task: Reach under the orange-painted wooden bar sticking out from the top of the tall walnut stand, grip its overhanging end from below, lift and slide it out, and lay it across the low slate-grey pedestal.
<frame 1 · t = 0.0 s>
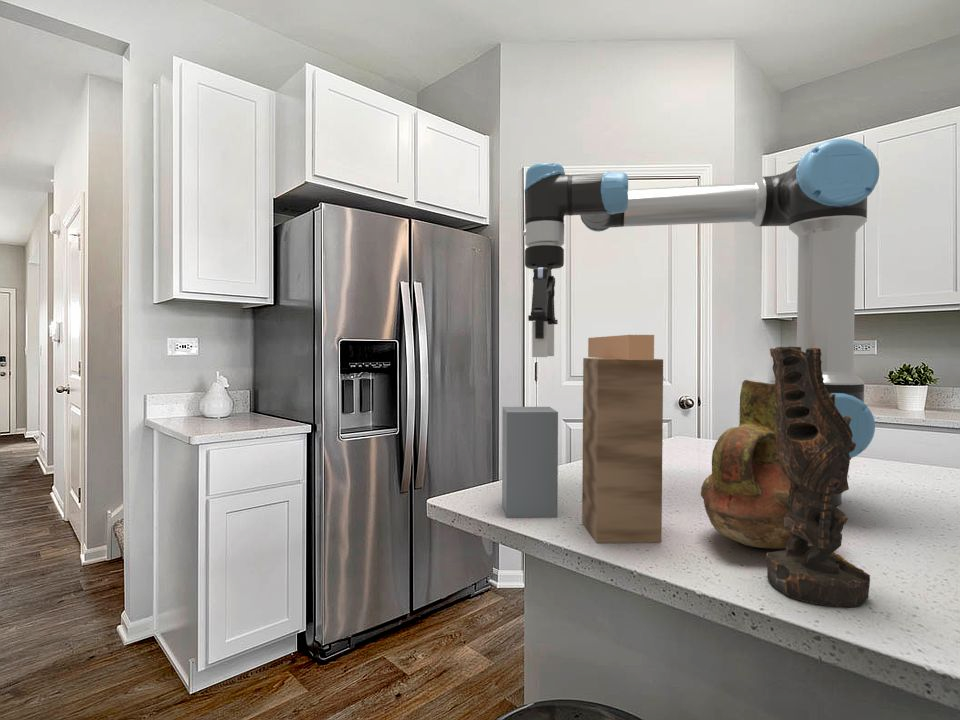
hand: (543, 356, 111), 28 cm above the countertop, tool pointing down, fingers open, 13 cm apart
statue: (814, 590, 70), on the countertop
slate pedestal: (528, 510, 104), on the countertop
ceramic vessel: (765, 543, 87), on the countertop
walnut stand: (619, 532, 92), on the countertop
bar: (616, 358, 94), point 28 cm above the countertop, touching walnut stand
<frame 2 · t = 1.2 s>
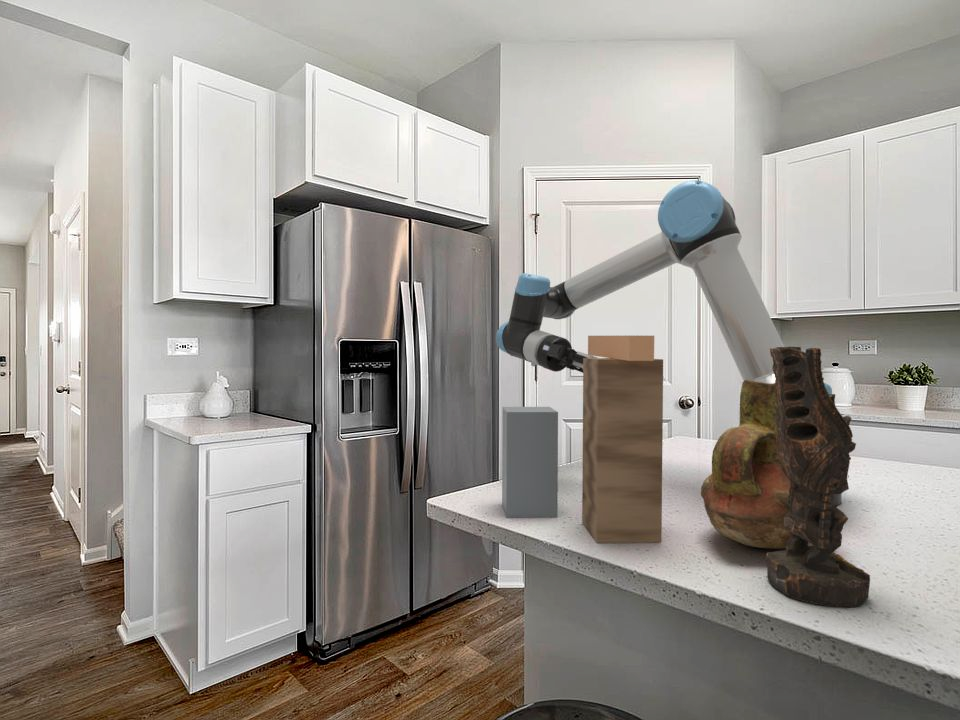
hand: (622, 376, 108), 24 cm above the countertop, tool horizontal, fingers open, 13 cm apart
bar: (616, 357, 94), point 28 cm above the countertop, touching gripper, walnut stand
everything else where it was.
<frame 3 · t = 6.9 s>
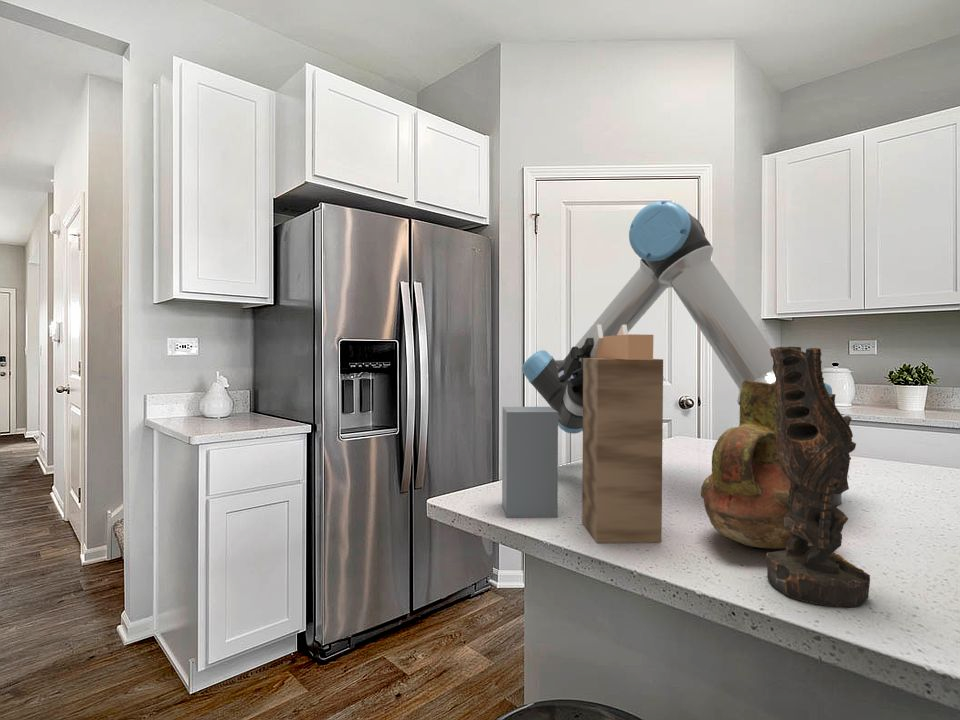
hand: (612, 331, 96), 33 cm above the countertop, tool pointing upward, fingers closed on bar, 4 cm apart
bar: (616, 358, 94), point 28 cm above the countertop, touching gripper, walnut stand
everything else where it was.
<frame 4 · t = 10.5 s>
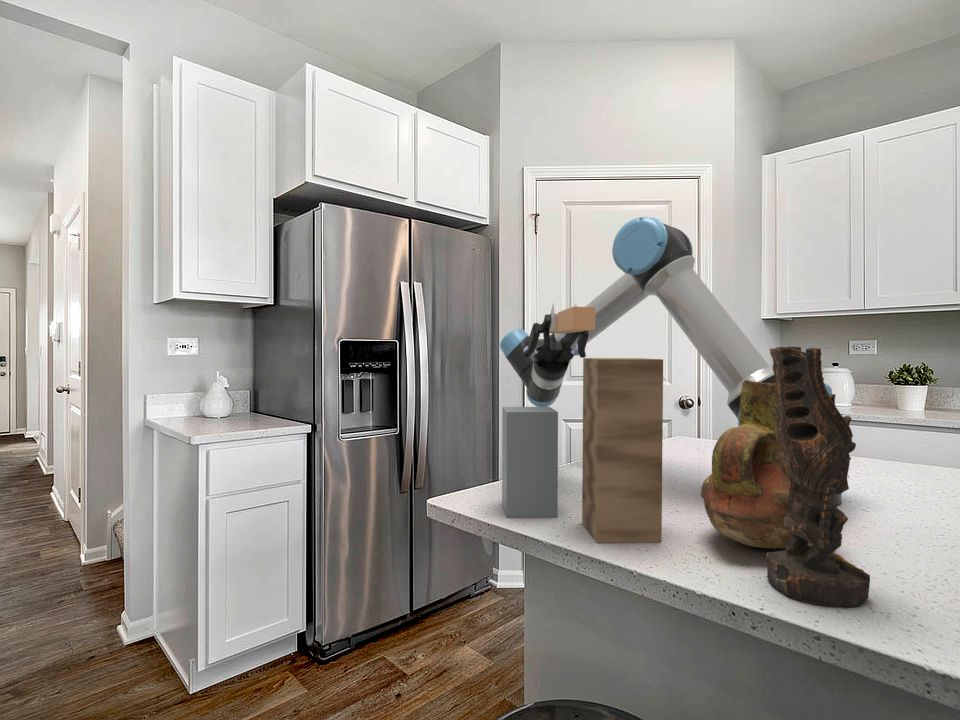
hand: (567, 308, 107), 37 cm above the countertop, tool pointing upward, fingers closed on bar, 4 cm apart
bar: (569, 331, 104), point 33 cm above the countertop, touching gripper
everything else where it was.
when the fingers open (25 cm above the countertop, at t = 14.2 s): bar drops 2 cm, resting on slate pedestal.
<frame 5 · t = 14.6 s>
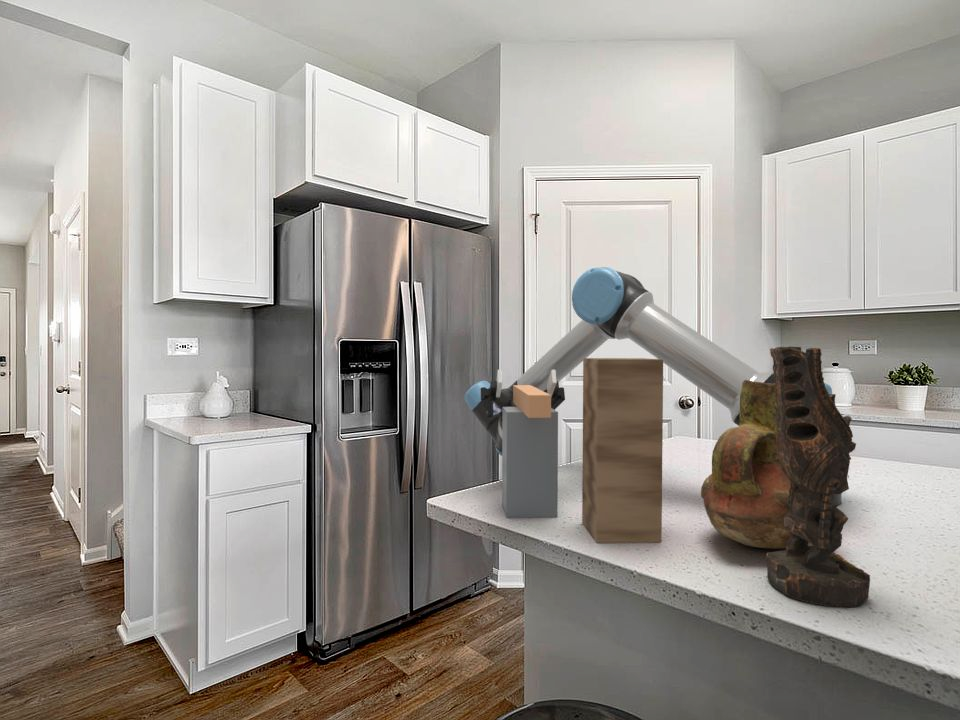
hand: (527, 376, 107), 24 cm above the countertop, tool pointing upward, fingers open, 9 cm apart
bar: (529, 409, 104), point 18 cm above the countertop, touching slate pedestal
everything else where it was.
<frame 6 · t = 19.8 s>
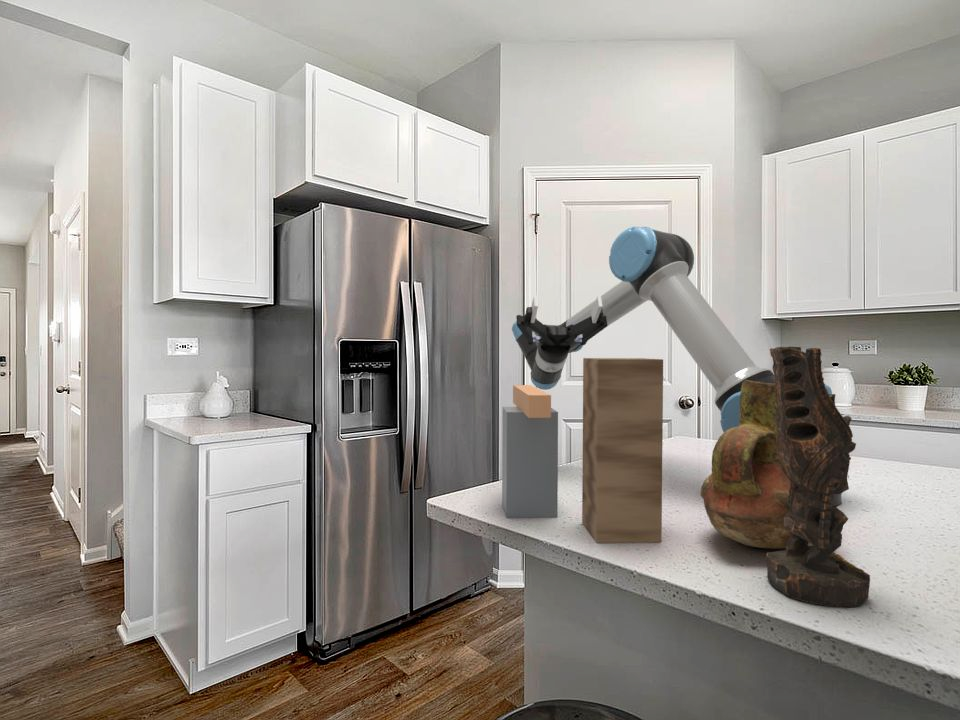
hand: (568, 300, 120), 40 cm above the countertop, tool pointing upward, fingers open, 13 cm apart
nothing on the countertop moved.
at the end: bar inside the target area on the slate pedestal (0.1 cm from its centre), point 18.5 cm above the slate pedestal's base; the gripper is holding nothing; bar tilted 0° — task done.
